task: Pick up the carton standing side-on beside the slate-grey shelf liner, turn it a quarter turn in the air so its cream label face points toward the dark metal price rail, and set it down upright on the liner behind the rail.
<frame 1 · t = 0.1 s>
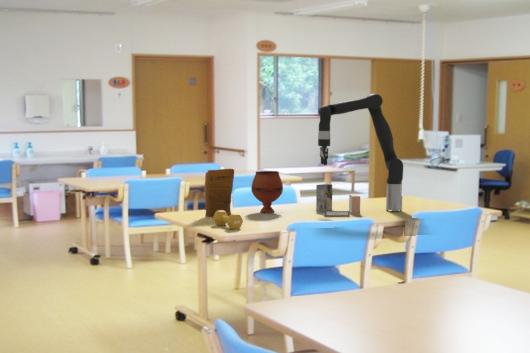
hand: (323, 164, 455), 29 cm above the table, fingers open, 8 cm apart
goblet: (266, 212, 453), on the table
coffee box: (324, 210, 464), on the table
shelf carton: (354, 213, 451), on the table
shelf board: (335, 214, 445), on the table
dumbbell: (227, 227, 397), on the table
pancake mix bag: (219, 216, 435), on the table
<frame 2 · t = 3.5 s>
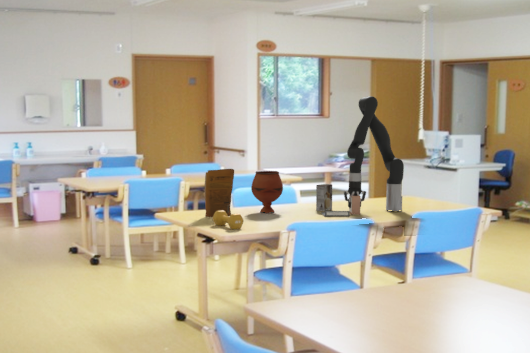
hand: (354, 207, 451), 3 cm above the table, fingers closed on shelf carton, 5 cm apart
shelf carton: (354, 213, 451), on the table, touching gripper
everything else where it was.
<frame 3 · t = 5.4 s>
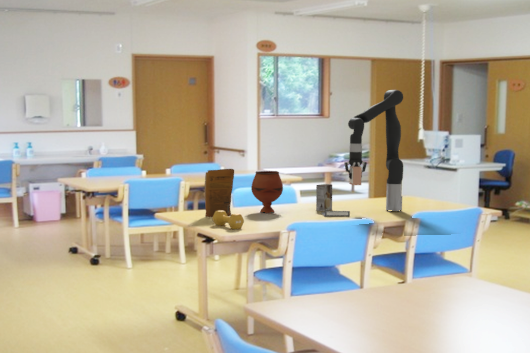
hand: (355, 178, 449), 21 cm above the table, fingers closed on shelf carton, 5 cm apart
shelf carton: (355, 184, 450), point 18 cm above the table, touching gripper
everything else where it was.
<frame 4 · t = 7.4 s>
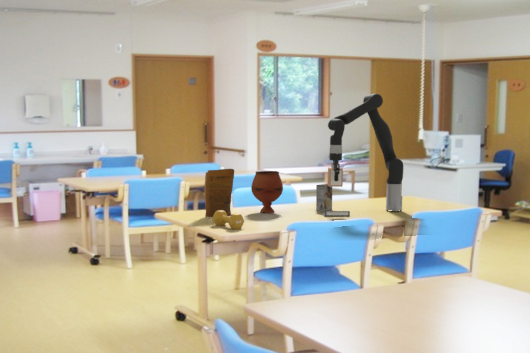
hand: (335, 180, 444), 21 cm above the table, fingers closed on shelf carton, 5 cm apart
shelf carton: (335, 186, 445), point 17 cm above the table, touching gripper
everything else where it was.
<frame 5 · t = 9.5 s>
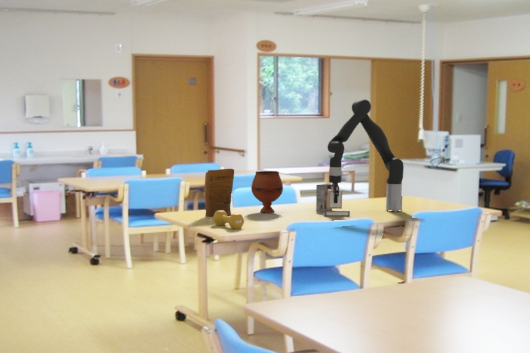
hand: (334, 202, 446), 7 cm above the table, fingers closed on shelf carton, 5 cm apart
shelf carton: (334, 208, 446), point 4 cm above the table, touching gripper
everything else where it was.
when the fingers open (5 cm above the table, at t = 11.1 s): shelf carton stays where it is, resting on shelf board.
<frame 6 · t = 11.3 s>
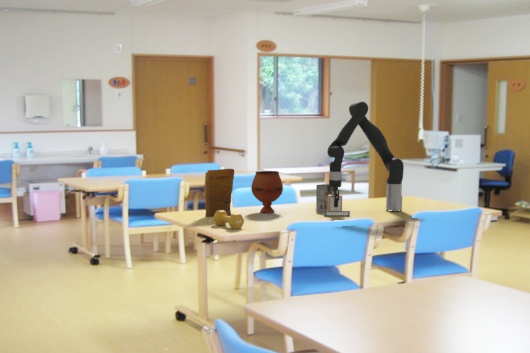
hand: (334, 206, 446), 5 cm above the table, fingers open, 7 cm apart
shelf carton: (334, 213, 446), point 1 cm above the table, touching shelf board
everything else where it was.
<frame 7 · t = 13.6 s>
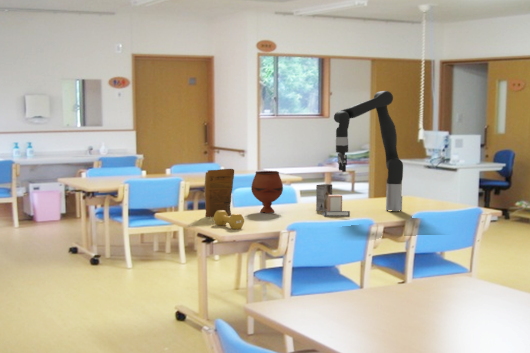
hand: (342, 171, 449), 26 cm above the table, fingers open, 8 cm apart
nothing on the table moved.
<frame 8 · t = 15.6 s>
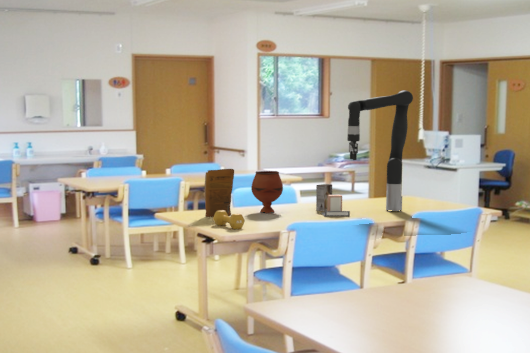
hand: (353, 159, 459), 32 cm above the table, fingers open, 8 cm apart
nothing on the table moved.
at the end: shelf carton inside the target area on the shelf board (1.1 cm from its centre), point 0.6 cm above the shelf board's base; shelf carton tilted 0°; the gripper is holding nothing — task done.
